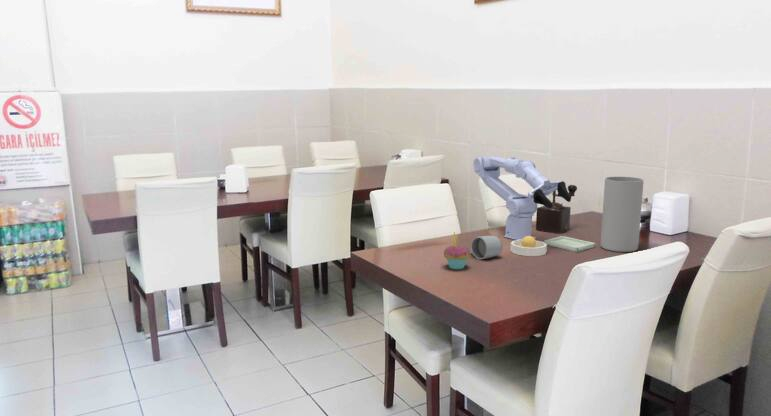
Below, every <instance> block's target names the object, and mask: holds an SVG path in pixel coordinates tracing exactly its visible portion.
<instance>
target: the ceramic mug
mask: <svg viewBox="0 0 771 416" xmlns="http://www.w3.org/2000/svg"><path fill="white" fill-rule="evenodd" d="M502 251H503V243H502V240H501V239H500V238H499V237H498V236H496V235H484V236H476V237H475V238H474V239H472V242H471V248H470V254H473V256H474V257H475V258H476V259H477V260H486V259H490V258H495V257H498V256H499V255H501V253H502Z"/></svg>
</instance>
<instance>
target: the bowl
mask: <svg viewBox="0 0 771 416" xmlns="http://www.w3.org/2000/svg"><path fill="white" fill-rule="evenodd" d="M535 240H536V239H535ZM547 250H548V245H547V244H546V243H544V241H540V240H536V246H535V248H528V247H523V246H522V240H515V239H514V240H512V241H511V242H510V250H509V251H510V252H511V253H512V254H514V255H519V256H521V257H522V256H526V257H540V256H544V255H546V254H547Z"/></svg>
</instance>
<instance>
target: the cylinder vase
mask: <svg viewBox="0 0 771 416" xmlns="http://www.w3.org/2000/svg"><path fill="white" fill-rule="evenodd" d="M643 191H644V179H643V178H639V177H631V176H608V177H607V176H606V177H605V178H604V188H603V202H602V203H603V205H602V216H601V217H602V220H601V234H600V247H601V248H602V249H604V250H607V251H611V252H615V253H632V252H635V251H637V250H638V249H639V241H640V232H641V231H640V229H641V220H642V219H641V216H642V205H643V193H644V192H643Z"/></svg>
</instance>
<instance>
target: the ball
mask: <svg viewBox="0 0 771 416" xmlns="http://www.w3.org/2000/svg"><path fill="white" fill-rule="evenodd" d="M532 236H533V235H531V236H526V237H524V238H523V239H522V246H523V247H528V248H535V246H536V239H534V238H533V237H534V236H533V237H532Z"/></svg>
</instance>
